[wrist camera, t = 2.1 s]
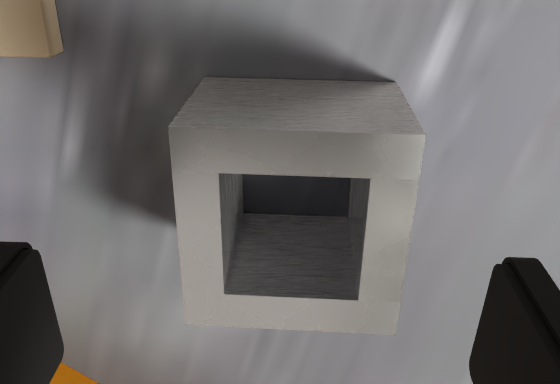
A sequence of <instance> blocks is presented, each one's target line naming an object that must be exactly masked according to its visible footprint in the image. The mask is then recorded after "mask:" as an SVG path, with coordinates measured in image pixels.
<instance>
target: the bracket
mask: <svg viewBox="0 0 560 384" xmlns="http://www.w3.org/2000/svg"><path fill="white" fill-rule="evenodd" d="M50 384H98V383H97V382H95V381H93V380H91V379H90V378H88V377H86V376H84V375H83V374H81V373H79V372H77V371H76V370H74V369H72V368H70V367H69V366H67V365H65V364H63V363H60V365H59V367H58V369H57V370H56V372H55V374H54V376H53V378H52V380H51V382H50Z"/></svg>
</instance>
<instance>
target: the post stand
mask: <svg viewBox="0 0 560 384" xmlns="http://www.w3.org/2000/svg"><path fill="white" fill-rule="evenodd" d="M61 52H63V45H62V39H61V34H60V28H59V22H58V16H57V11H56V5H55V0H0V56H6V57H44V58H51V57H53V56H55V55H57V54H59V53H61Z"/></svg>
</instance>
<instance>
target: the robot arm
mask: <svg viewBox="0 0 560 384" xmlns="http://www.w3.org/2000/svg"><path fill="white" fill-rule="evenodd" d="M63 352H64V345H63V341H62V337H61V333H60V329H59V325H58V321H57V317H56V313H55V309H54V306H53V302H52V298H51V294H50V290H49V286H48V282H47V278H46V274H45V271H44V267H43V263H42V259H41V255H40V253H39V252H38V250H33V249H32V246H31V245H30V244H29V243H26V242H0V384H50V382H51V380H52V378H53V376H54V374H55V372H56V370H57V369H58V367H59V365H60V363H61V360H62V357H63ZM469 370H470V376H471V379H472V382H473V384H560V290H559V289H558V287H557V286H556V284H555V283H554V281H553V280H552V278H551V277H550V275H549V274H548V272H547V271H546V270H545V268H544V267H543V265H542V264H541V262H540V261H539V260H538V259H536V258H518V257H507V258H505V259H504V261H503V262H502V264H496V265H495V266H494V268H493V271H492V275H491V279H490V283H489V287H488V291H487V294H486V298H485V302H484V306H483V310H482V314H481V317H480V321H479V325H478V329H477V333H476V337H475V341H474V344H473V348H472V352H471V356H470V361H469Z"/></svg>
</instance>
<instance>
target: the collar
mask: <svg viewBox="0 0 560 384" xmlns="http://www.w3.org/2000/svg"><path fill="white" fill-rule="evenodd" d="M168 134H169V145H170V157H171V168H172V179H173V190H174V201H175V213H176V224H177V235H178V246H179V257H180V268H181V280H182V291H183V302H184V313H185V324H186V325H201V326H221V327H242V328H263V329H284V330H304V331H325V332H346V333H366V334H387V335H396V331H397V325H398V318H399V311H400V305H401V298H402V291H403V285H404V278H405V271H406V265H407V258H408V251H409V245H410V238H411V231H412V224H413V218H414V211H415V204H416V198H417V191H418V184H419V178H420V171H421V164H422V158H423V151H424V144H425V138H426V134H425V132H424V131H423V129H422V127H421V125H420V123H419V122H418V120H417V118H416V116H415V114H414V113H413V111H412V109H411V107H410V105H409V104H408V102H407V100H406V98H405V96H404V94H403V93H402V91H401V89H400V87H399V85H398V84H397V82H371V81H335V80H298V79H262V78H225V77H204V78H203V79H202V81H201V82H200V83H199V85H198V86H197V88H196V89H195V90H194V92H193V93H192V94H191V96H190V97H189V98H188V100H187V101H186V103H185V104H184V105H183V107H182V108H181V109H180V111H179V112H178V114H177V115H176V116H175V118H174V119H173V120H172V122H171V123H170V124H169V126H168ZM243 174H258V175H287V176H315V177H343V178H351V185H350V197H349V209H348V217H335V216H309V215H284V214H258V213H244V206H243Z"/></svg>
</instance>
